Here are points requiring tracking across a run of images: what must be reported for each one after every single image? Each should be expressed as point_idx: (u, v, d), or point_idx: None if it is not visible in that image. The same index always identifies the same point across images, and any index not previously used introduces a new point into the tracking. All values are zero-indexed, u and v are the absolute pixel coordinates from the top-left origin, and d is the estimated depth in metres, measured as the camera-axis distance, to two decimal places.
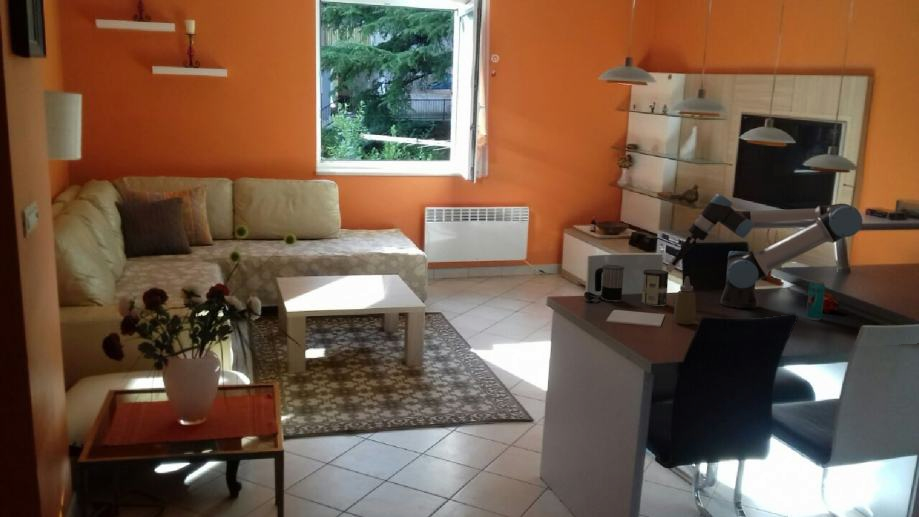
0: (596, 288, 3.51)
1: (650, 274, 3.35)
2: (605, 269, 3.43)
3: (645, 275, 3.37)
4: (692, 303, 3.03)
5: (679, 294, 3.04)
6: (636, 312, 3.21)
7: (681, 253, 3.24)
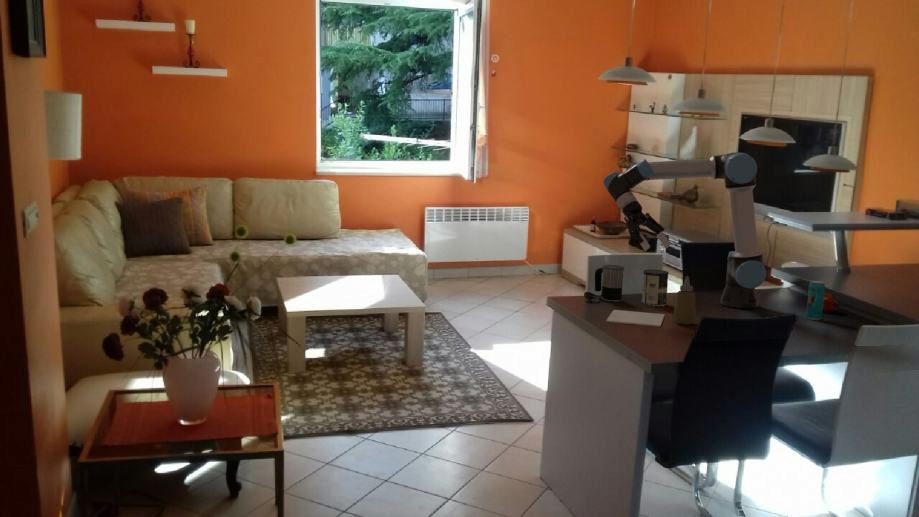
0: (596, 288, 3.51)
1: (650, 274, 3.35)
2: (605, 269, 3.43)
3: (645, 275, 3.37)
4: (692, 303, 3.03)
5: (679, 294, 3.04)
6: (636, 312, 3.21)
7: (630, 230, 3.14)
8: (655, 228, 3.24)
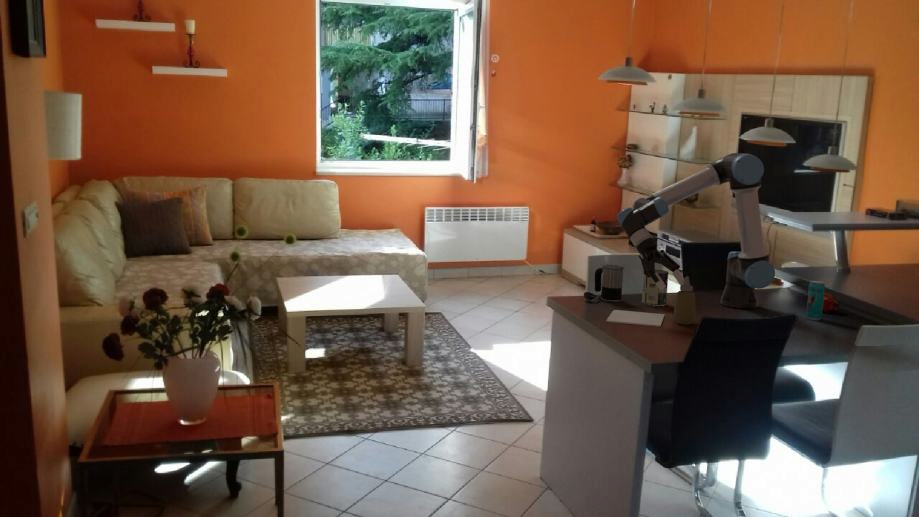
0: (596, 288, 3.51)
1: None
2: (605, 269, 3.43)
3: (645, 275, 3.37)
4: (692, 303, 3.03)
5: (679, 294, 3.04)
6: (636, 312, 3.21)
7: (645, 269, 3.06)
8: (670, 266, 3.15)
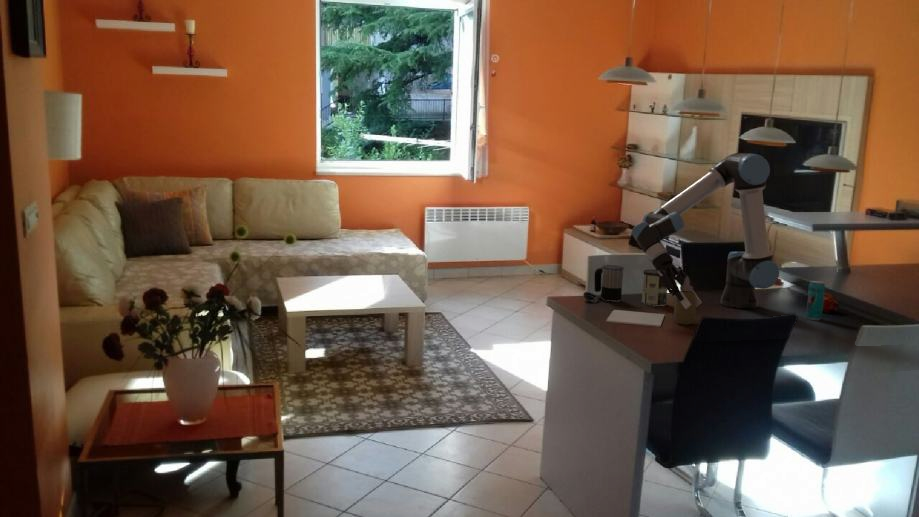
0: (596, 288, 3.51)
1: (650, 274, 3.35)
2: (604, 269, 3.42)
3: (645, 275, 3.37)
4: (692, 303, 3.03)
5: None
6: (636, 312, 3.21)
7: (669, 288, 3.03)
8: None
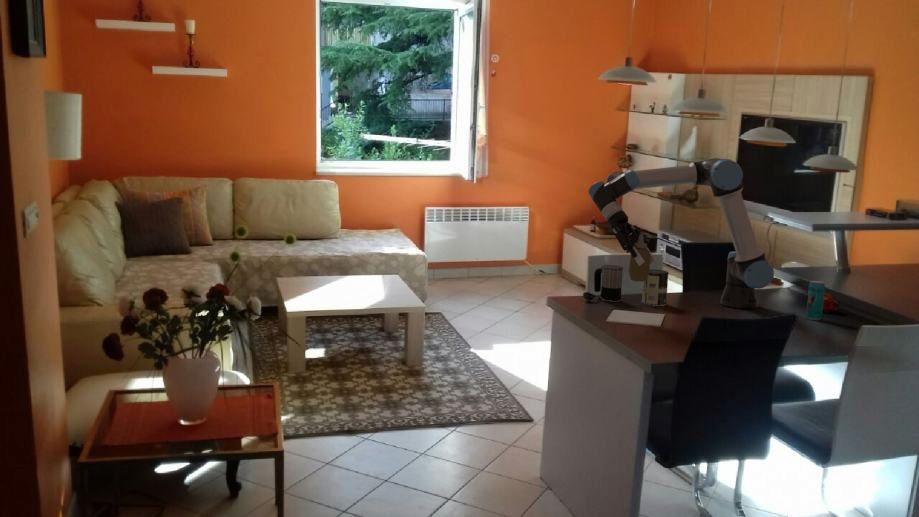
0: (595, 288, 3.51)
1: (650, 274, 3.35)
2: (604, 269, 3.42)
3: None
4: (646, 259, 3.06)
5: None
6: (636, 312, 3.21)
7: (623, 245, 3.06)
8: None
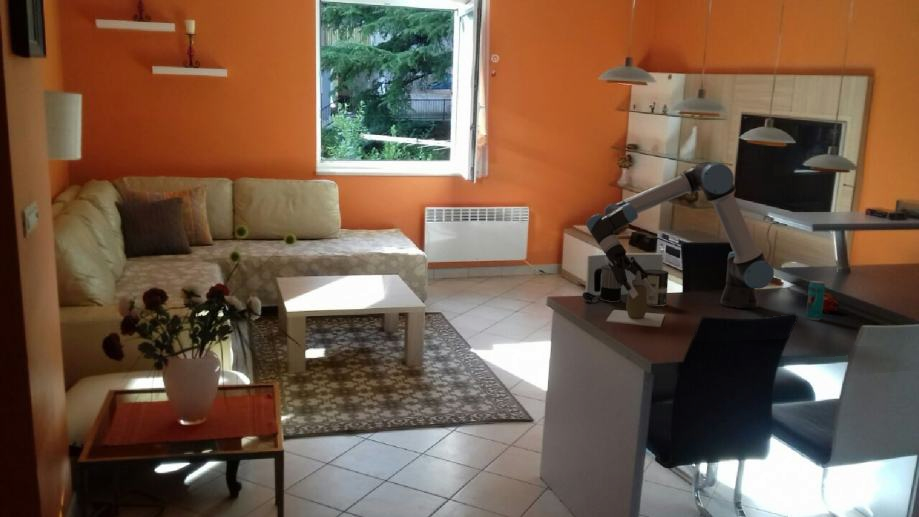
0: (595, 288, 3.50)
1: (650, 274, 3.35)
2: (604, 269, 3.42)
3: None
4: (643, 296, 3.09)
5: None
6: None
7: (617, 277, 3.08)
8: None
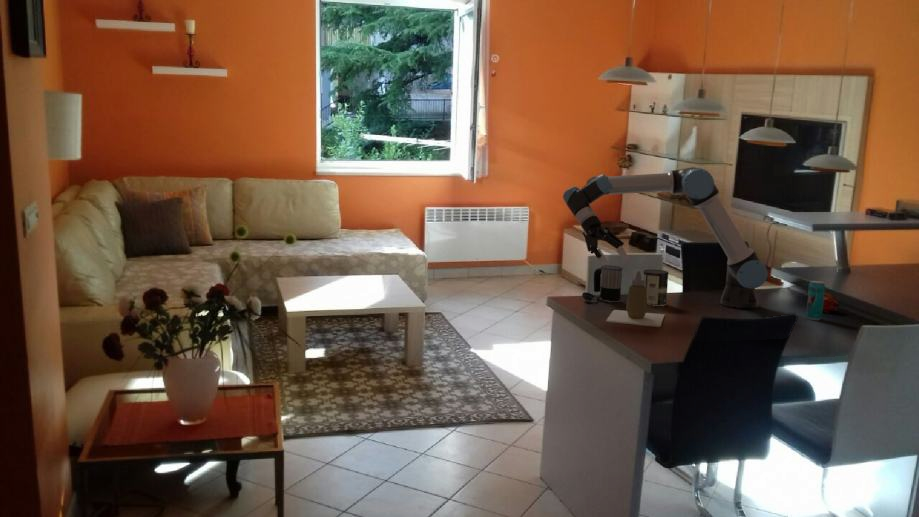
0: (595, 288, 3.50)
1: (650, 274, 3.35)
2: (603, 269, 3.42)
3: (645, 275, 3.37)
4: (643, 297, 3.09)
5: (631, 288, 3.10)
6: None
7: (588, 245, 3.15)
8: (614, 242, 3.25)
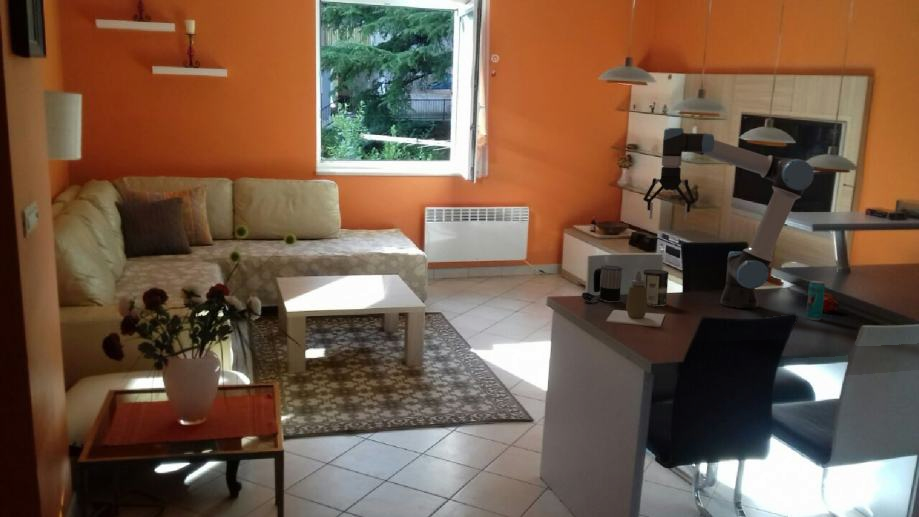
0: (595, 289, 3.50)
1: (650, 274, 3.35)
2: (603, 270, 3.41)
3: (645, 275, 3.37)
4: (643, 297, 3.09)
5: (631, 288, 3.10)
6: None
7: (645, 195, 3.29)
8: (683, 198, 3.24)
